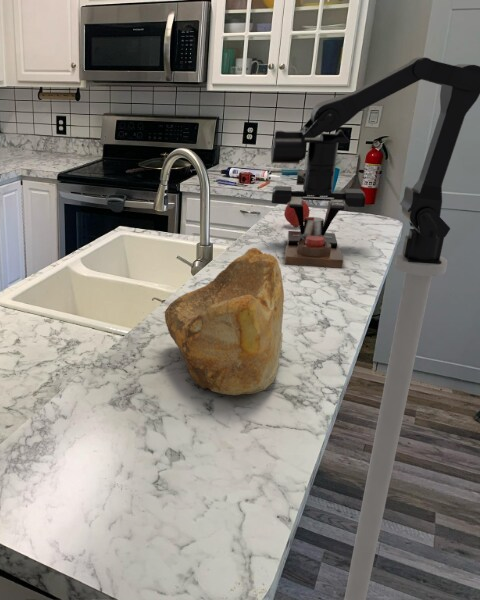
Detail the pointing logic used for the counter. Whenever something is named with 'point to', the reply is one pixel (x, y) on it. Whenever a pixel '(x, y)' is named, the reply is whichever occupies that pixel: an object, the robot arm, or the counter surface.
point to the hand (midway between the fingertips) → (312, 234)
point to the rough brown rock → (232, 326)
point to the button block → (313, 255)
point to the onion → (291, 214)
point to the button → (314, 241)
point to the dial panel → (297, 236)
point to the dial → (313, 226)
